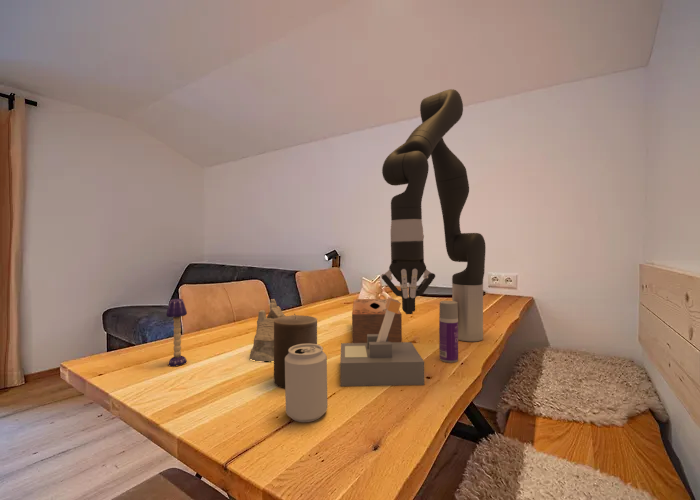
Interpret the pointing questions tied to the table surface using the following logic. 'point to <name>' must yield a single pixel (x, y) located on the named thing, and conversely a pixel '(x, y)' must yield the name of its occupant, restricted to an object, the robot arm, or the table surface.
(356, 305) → the tissue box cover
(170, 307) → the toy lamp
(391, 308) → the breaker lever
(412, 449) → the table surface
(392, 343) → the box
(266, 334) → the ceramic cottage
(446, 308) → the container
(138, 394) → the table surface
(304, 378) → the can
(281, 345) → the pillar candle
